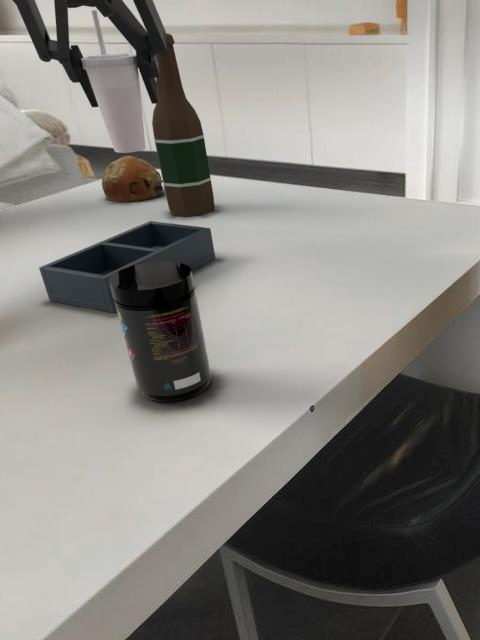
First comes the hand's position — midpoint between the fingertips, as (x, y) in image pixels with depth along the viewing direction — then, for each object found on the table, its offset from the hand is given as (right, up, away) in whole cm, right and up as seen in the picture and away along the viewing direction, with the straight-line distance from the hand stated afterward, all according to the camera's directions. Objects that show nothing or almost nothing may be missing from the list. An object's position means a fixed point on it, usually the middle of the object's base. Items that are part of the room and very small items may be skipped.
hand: (124, 95), depth 83 cm
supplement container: (+12, -38, -20) cm, 45 cm away
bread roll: (-11, +4, +38) cm, 40 cm away
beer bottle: (+1, -3, +28) cm, 28 cm away
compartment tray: (0, -21, +3) cm, 21 cm away
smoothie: (+1, -7, +1) cm, 7 cm away
